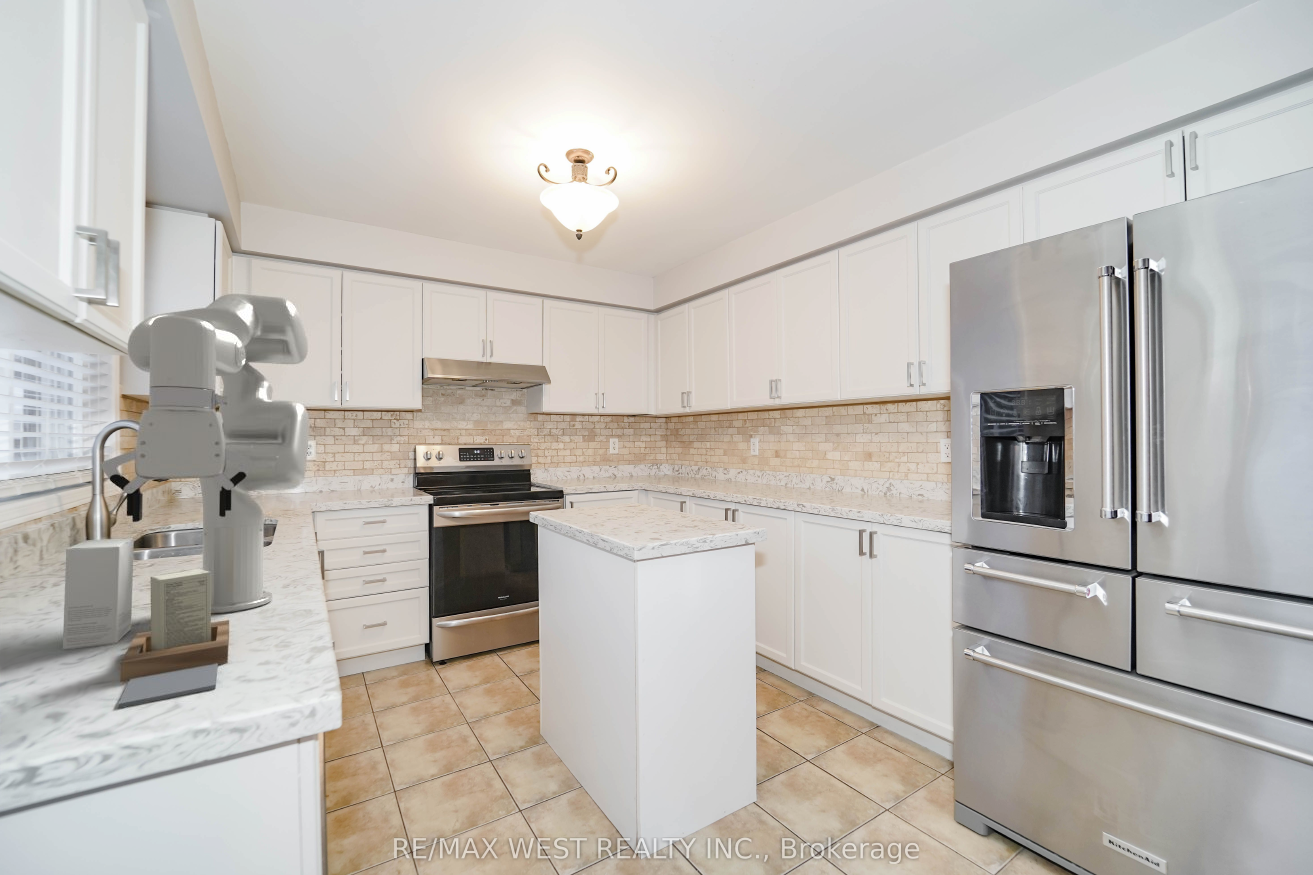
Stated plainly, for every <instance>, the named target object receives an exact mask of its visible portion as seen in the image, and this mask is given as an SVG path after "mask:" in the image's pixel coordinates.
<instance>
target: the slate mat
mask: <svg viewBox="0 0 1313 875" xmlns="http://www.w3.org/2000/svg"><path fill="white" fill-rule="evenodd" d="M218 665H219V664H218V663H216V664H211V665H205V666H199V667H194V668H188V669H183V670H177V671H172V672H166V673H161V674H155V675H150V676H144V677H138V678H133V679H130V680H129V681H128V683H127V685H126V687H125V689H124V691H123V693H122V696H121V698H120V699H119V702H118V704H117V706H118V709H122V708H126V707H130V706H135V705H141V704H146V703H151V702H156V701H161V700H165V699H166V700H167V699H171V698H177V697H181V696H186V695H190V694H195V693H201V692H206V691H210V690H215V689H216V686H217V676H218V669H219V668H218V667H219V666H218Z"/></svg>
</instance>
